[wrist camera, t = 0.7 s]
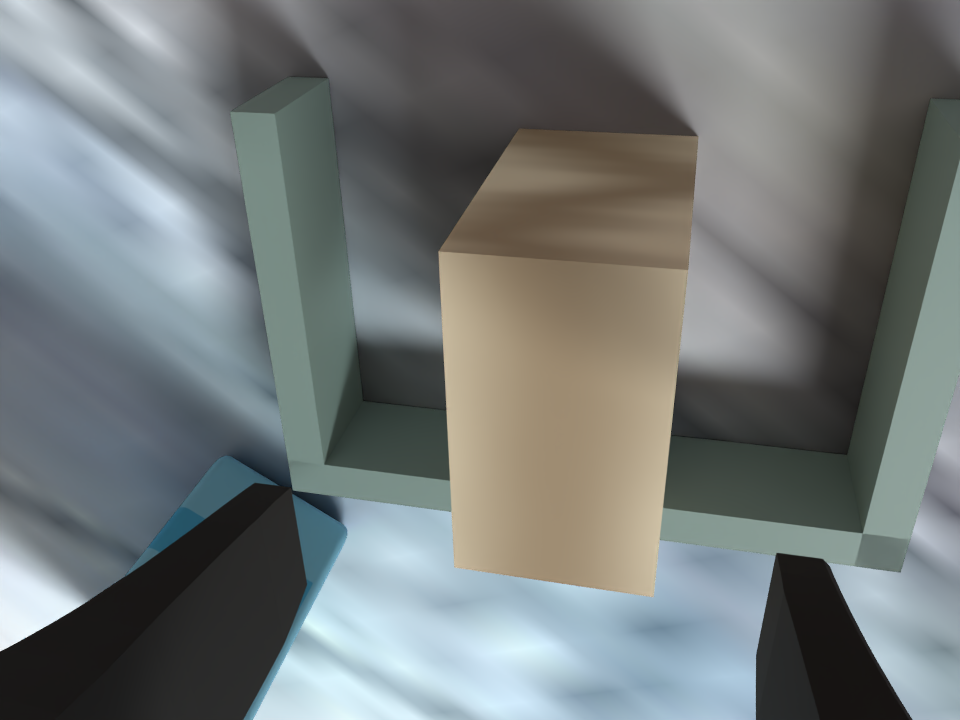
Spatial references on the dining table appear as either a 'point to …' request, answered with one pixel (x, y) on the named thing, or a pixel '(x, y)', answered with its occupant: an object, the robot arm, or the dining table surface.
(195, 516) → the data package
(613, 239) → the block
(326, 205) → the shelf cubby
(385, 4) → the dining table surface
